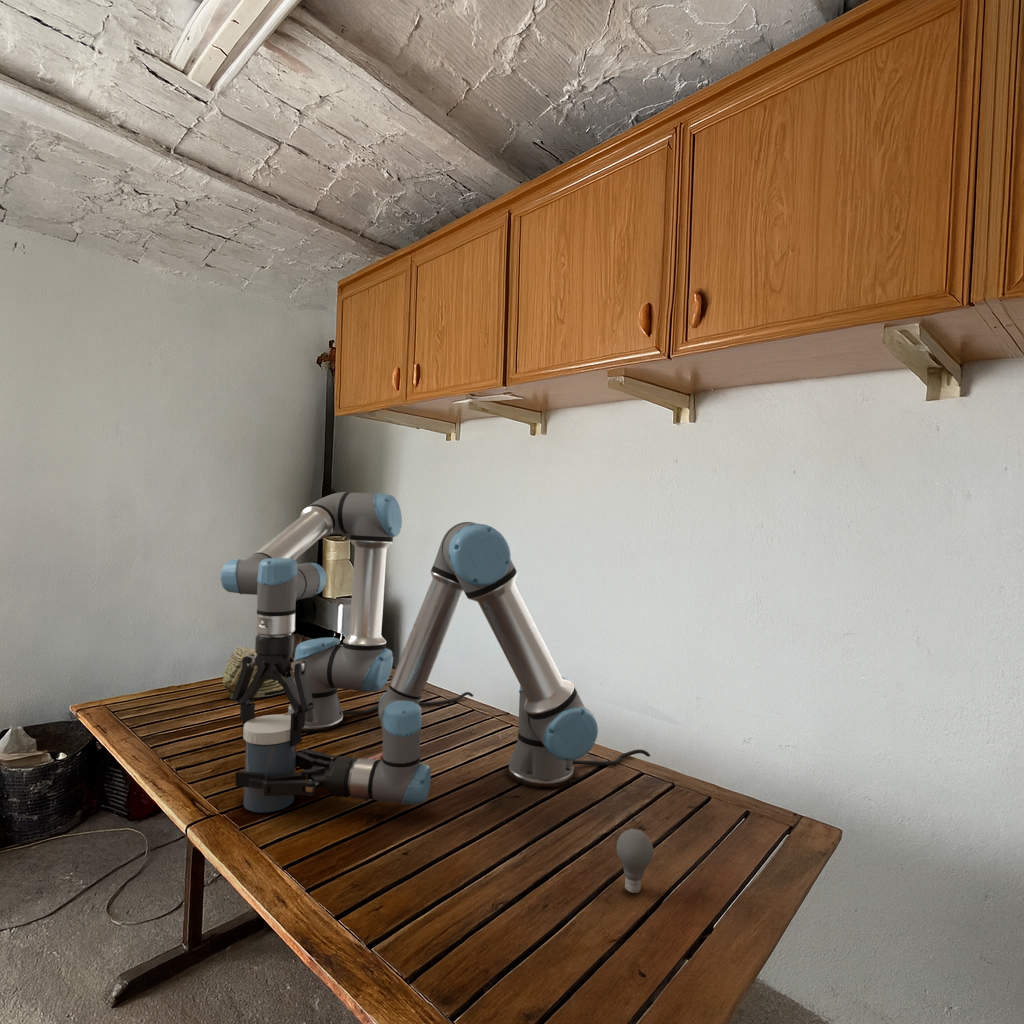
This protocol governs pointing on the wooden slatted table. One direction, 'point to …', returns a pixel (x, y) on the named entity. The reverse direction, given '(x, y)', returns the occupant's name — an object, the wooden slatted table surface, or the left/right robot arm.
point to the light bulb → (634, 857)
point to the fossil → (234, 671)
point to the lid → (267, 729)
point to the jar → (275, 763)
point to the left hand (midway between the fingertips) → (271, 739)
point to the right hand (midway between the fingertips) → (250, 767)
